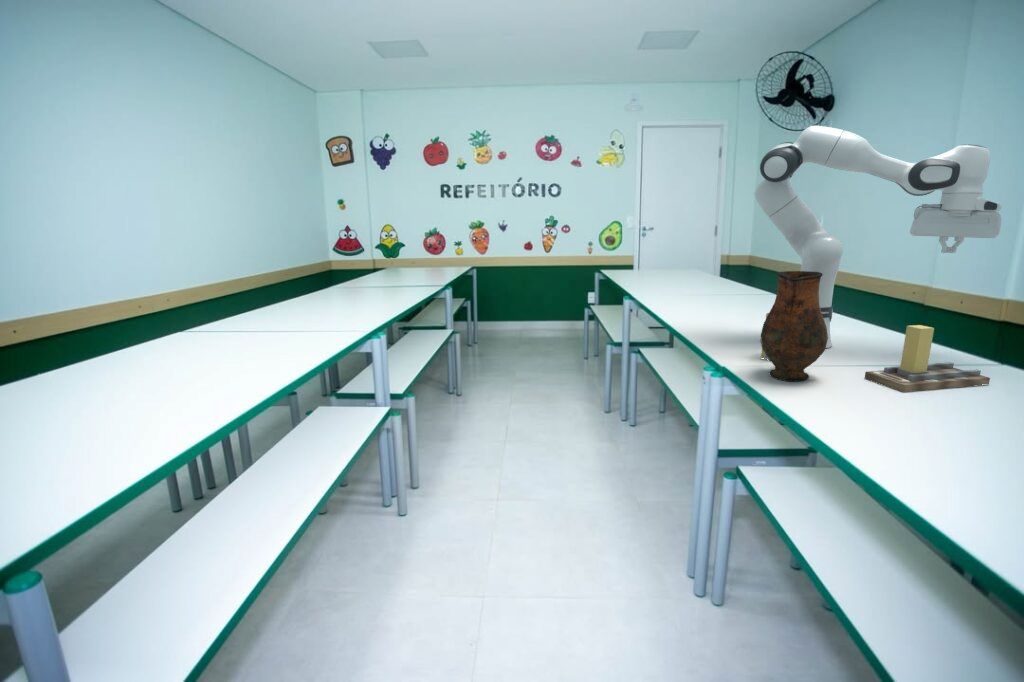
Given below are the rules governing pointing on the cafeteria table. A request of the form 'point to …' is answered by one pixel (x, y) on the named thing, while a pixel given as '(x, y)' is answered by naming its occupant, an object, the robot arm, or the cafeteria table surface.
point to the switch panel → (928, 378)
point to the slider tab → (916, 350)
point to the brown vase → (795, 326)
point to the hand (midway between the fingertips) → (948, 252)
